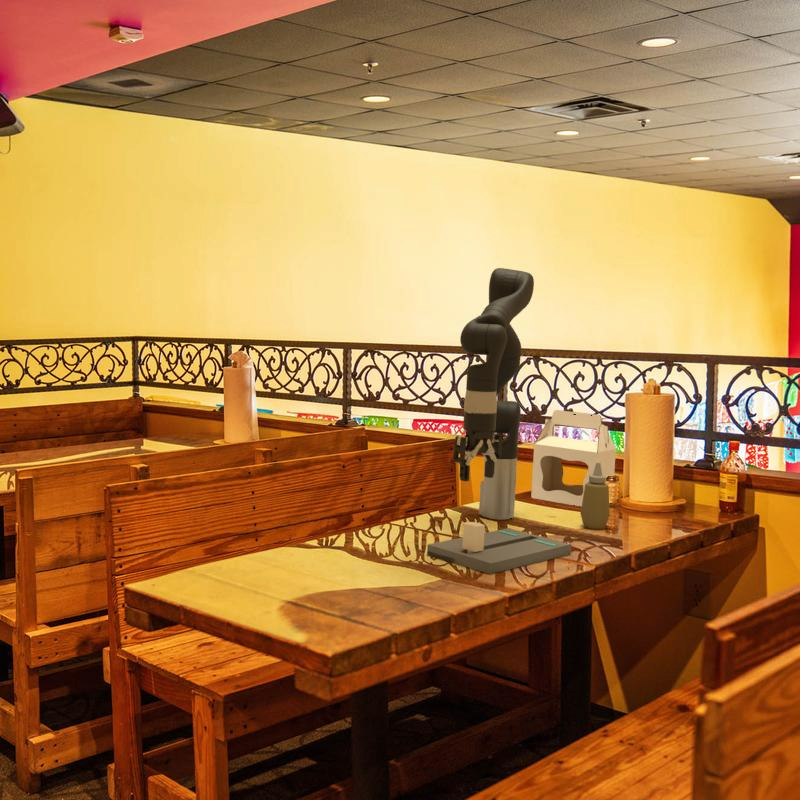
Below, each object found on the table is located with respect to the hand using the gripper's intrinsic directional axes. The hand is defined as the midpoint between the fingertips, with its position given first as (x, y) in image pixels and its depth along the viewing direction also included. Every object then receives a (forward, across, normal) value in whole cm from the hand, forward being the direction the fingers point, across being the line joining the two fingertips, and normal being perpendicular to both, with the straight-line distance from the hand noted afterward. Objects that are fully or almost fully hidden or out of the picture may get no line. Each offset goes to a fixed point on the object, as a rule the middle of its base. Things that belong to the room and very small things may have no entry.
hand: (476, 479), depth 227 cm
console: (+20, -10, 0) cm, 22 cm away
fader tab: (+18, 0, 0) cm, 18 cm away
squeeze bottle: (+20, -55, -4) cm, 59 cm away
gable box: (+20, -80, -30) cm, 88 cm away
